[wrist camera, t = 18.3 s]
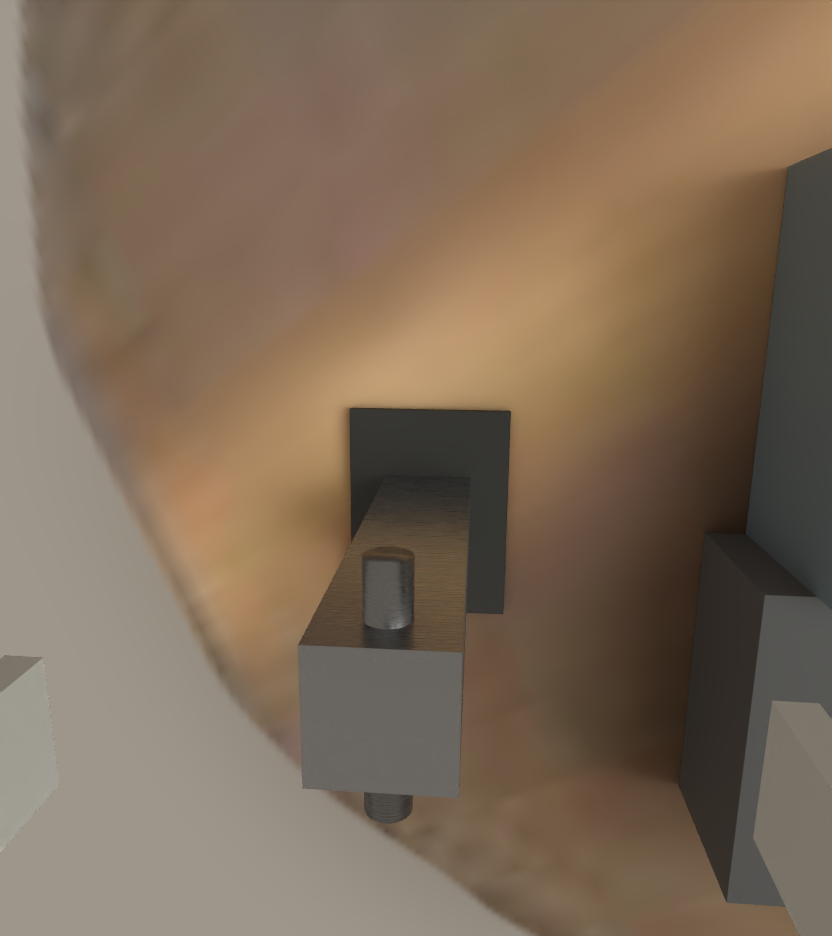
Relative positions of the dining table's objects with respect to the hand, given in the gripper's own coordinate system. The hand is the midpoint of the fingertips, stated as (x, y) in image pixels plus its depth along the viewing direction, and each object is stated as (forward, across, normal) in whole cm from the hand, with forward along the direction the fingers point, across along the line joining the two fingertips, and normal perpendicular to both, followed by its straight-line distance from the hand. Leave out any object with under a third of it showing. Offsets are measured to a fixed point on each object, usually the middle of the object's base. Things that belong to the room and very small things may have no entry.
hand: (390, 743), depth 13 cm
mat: (+16, -1, 0) cm, 16 cm away
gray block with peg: (+15, -1, -1) cm, 15 cm away
